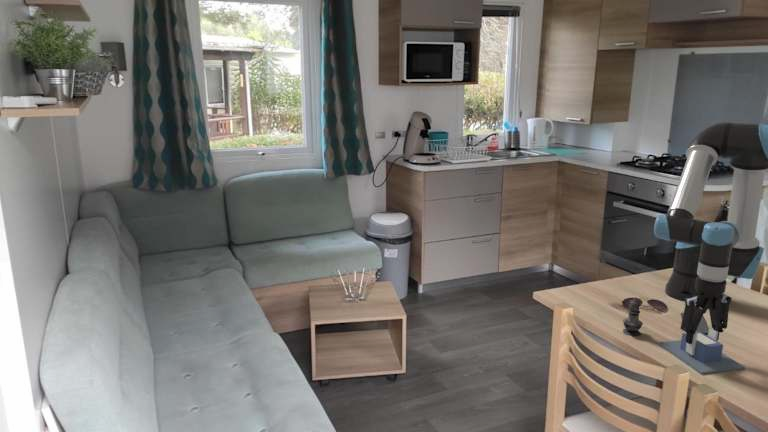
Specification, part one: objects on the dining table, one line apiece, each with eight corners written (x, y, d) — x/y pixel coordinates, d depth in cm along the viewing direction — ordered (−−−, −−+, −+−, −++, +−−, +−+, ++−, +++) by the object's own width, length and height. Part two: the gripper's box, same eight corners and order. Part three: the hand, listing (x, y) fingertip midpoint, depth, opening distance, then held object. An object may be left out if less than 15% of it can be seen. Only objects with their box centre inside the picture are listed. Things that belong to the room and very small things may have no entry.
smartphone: (703, 315, 198) (710, 333, 184) (702, 317, 198) (709, 336, 184) (680, 312, 200) (686, 330, 186) (680, 314, 200) (685, 332, 187)
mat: (698, 339, 181) (698, 337, 181) (744, 368, 164) (744, 366, 164) (658, 344, 178) (658, 342, 178) (701, 374, 161) (701, 372, 161)
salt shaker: (631, 338, 183) (635, 302, 179) (617, 330, 188) (621, 295, 185) (645, 334, 185) (650, 299, 182) (631, 327, 190) (635, 292, 187)
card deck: (720, 360, 168) (723, 344, 166) (703, 363, 166) (705, 347, 165) (696, 346, 176) (699, 330, 175) (680, 348, 174) (682, 333, 173)
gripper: (730, 270, 171) (718, 342, 176) (672, 275, 167) (662, 349, 172) (751, 279, 163) (738, 354, 169) (691, 285, 159) (680, 361, 165)
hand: (700, 351), depth 171 cm, fingers closed on card deck, 6 cm apart
